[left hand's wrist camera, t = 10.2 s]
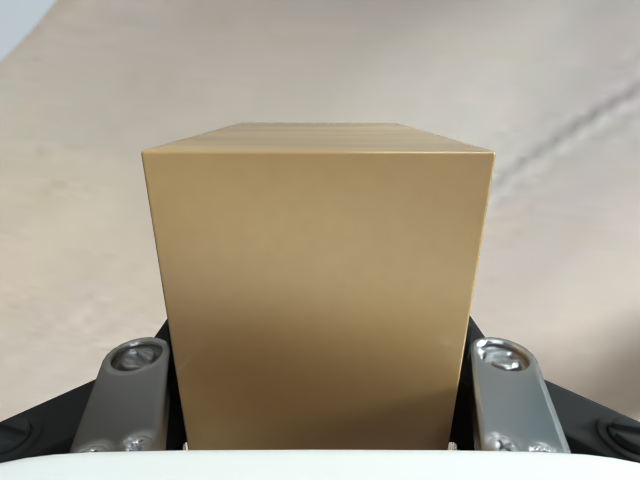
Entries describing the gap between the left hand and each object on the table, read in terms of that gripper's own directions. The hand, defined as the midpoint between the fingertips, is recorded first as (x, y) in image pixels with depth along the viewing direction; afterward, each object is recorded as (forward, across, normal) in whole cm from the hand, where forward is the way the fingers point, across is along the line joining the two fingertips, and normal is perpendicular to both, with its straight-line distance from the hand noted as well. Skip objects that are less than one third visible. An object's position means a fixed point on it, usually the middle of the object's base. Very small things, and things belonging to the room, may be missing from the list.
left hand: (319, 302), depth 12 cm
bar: (+2, 0, -26) cm, 26 cm away
